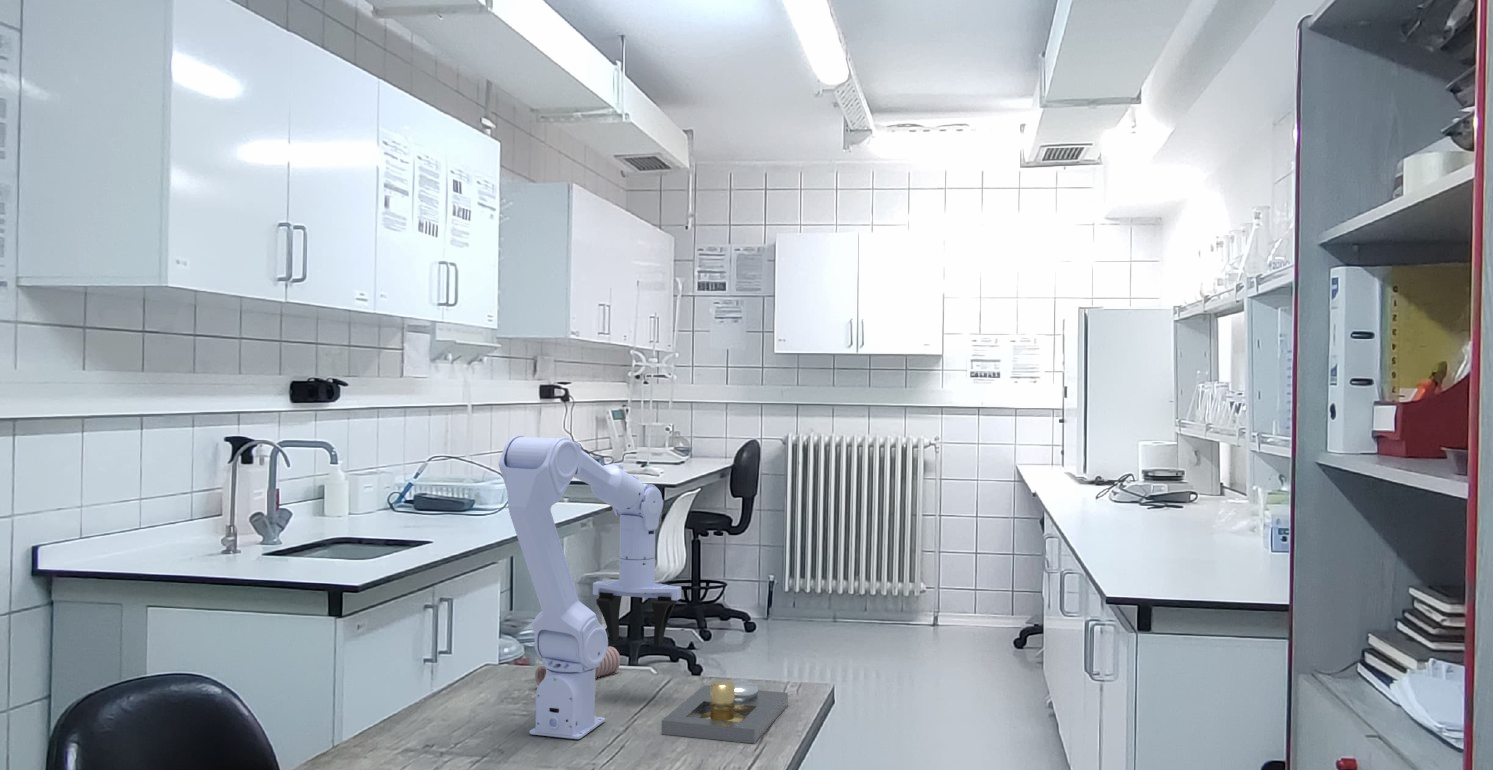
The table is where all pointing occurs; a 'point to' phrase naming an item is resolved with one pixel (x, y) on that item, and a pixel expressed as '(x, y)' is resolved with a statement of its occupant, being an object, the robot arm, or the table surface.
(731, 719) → the gold flanged round piece
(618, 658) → the coil
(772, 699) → the carrier plate
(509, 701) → the table surface
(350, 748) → the table surface
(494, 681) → the table surface
